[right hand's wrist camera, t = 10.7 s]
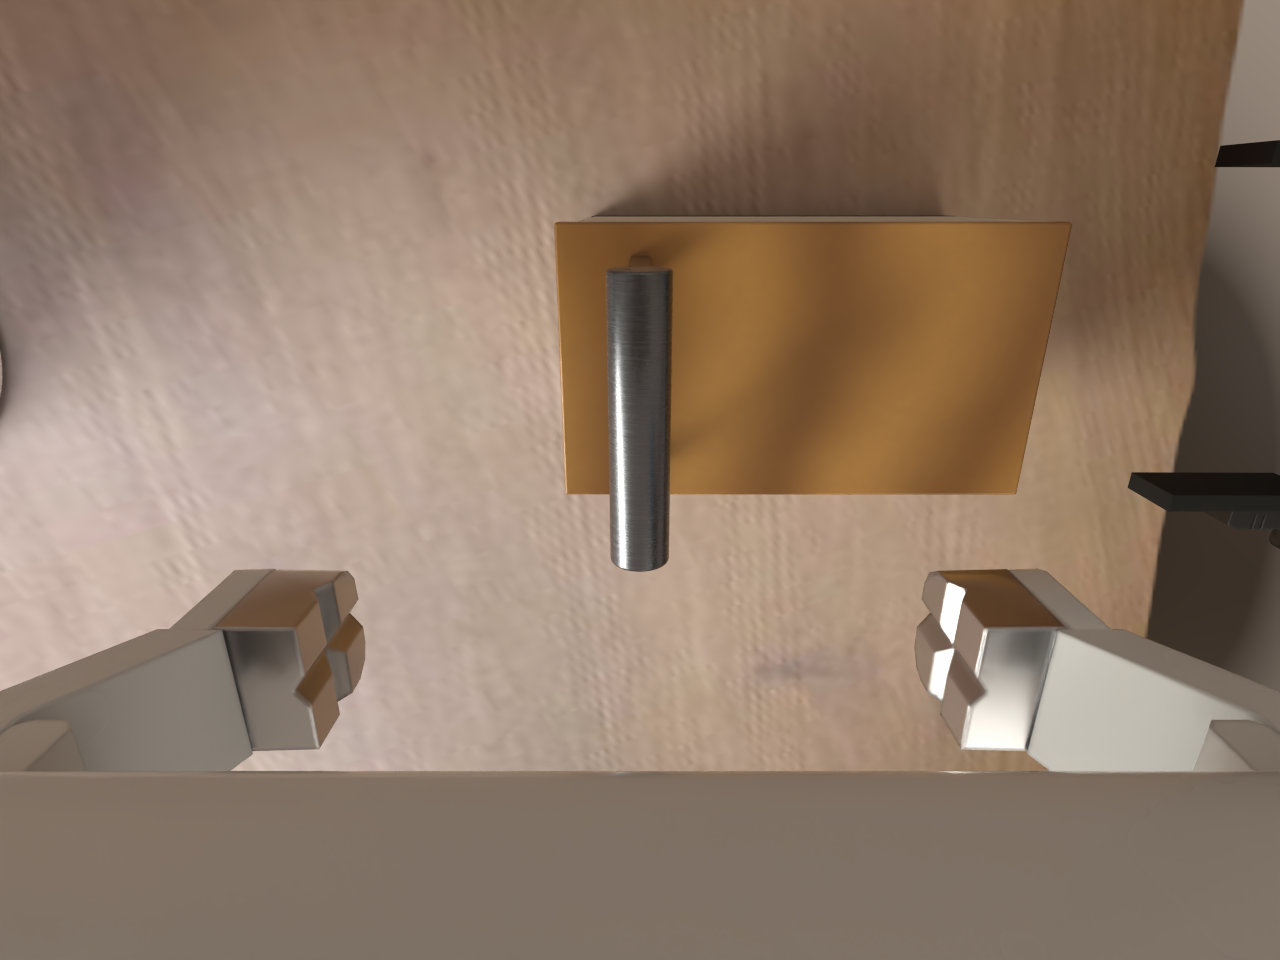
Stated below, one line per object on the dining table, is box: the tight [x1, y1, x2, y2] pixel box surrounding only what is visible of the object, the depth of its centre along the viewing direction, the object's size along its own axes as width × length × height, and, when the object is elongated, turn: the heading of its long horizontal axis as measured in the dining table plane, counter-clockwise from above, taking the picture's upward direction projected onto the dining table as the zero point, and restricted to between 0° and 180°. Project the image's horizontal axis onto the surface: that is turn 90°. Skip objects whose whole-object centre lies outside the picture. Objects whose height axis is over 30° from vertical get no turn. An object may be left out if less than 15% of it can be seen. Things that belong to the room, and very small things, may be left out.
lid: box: [554, 222, 1072, 572], centre depth 22 cm, size 17×10×8 cm, turn 90°
